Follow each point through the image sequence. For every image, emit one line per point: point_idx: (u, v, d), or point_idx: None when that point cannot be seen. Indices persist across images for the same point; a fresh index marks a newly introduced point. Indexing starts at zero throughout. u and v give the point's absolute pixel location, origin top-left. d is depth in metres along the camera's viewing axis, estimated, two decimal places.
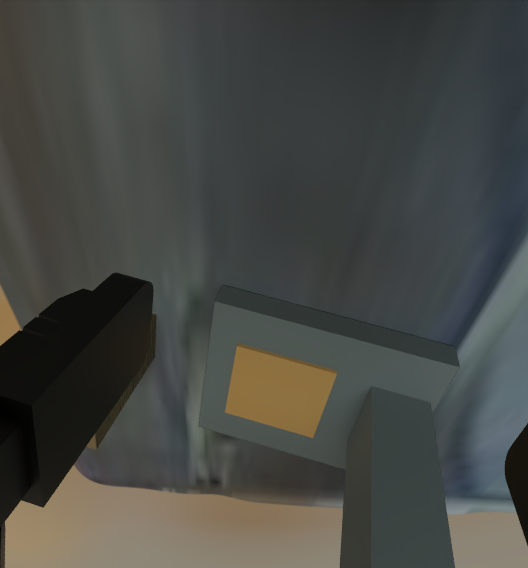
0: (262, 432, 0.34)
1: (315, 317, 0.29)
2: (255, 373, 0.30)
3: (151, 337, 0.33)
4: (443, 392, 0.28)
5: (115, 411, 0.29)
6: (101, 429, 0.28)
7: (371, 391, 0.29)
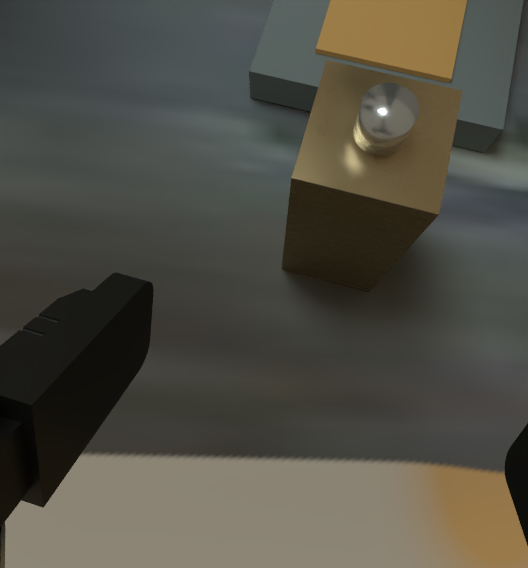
0: (486, 39, 0.23)
1: None
2: (362, 32, 0.22)
3: None
4: None
5: None
6: None
7: None
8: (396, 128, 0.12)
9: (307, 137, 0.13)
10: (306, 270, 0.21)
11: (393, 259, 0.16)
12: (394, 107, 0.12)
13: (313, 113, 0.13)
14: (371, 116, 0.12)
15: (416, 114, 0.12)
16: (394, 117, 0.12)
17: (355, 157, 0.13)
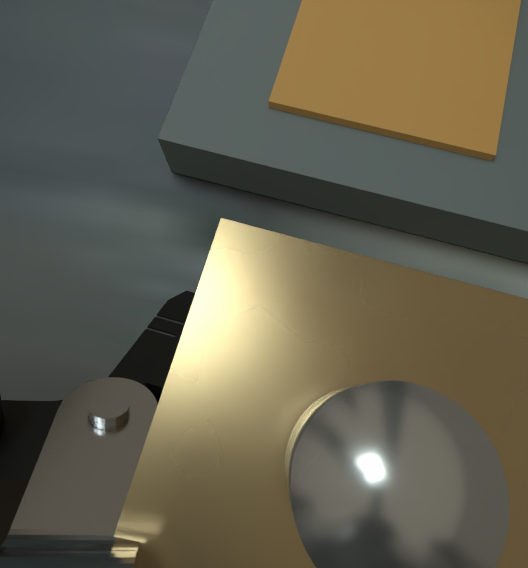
0: None
1: None
2: (345, 73, 0.14)
3: None
4: None
5: None
6: None
7: None
8: None
9: (145, 479, 0.04)
10: None
11: None
12: (415, 495, 0.03)
13: (170, 394, 0.05)
14: (328, 540, 0.03)
15: (500, 527, 0.03)
16: (416, 546, 0.03)
17: (288, 563, 0.04)
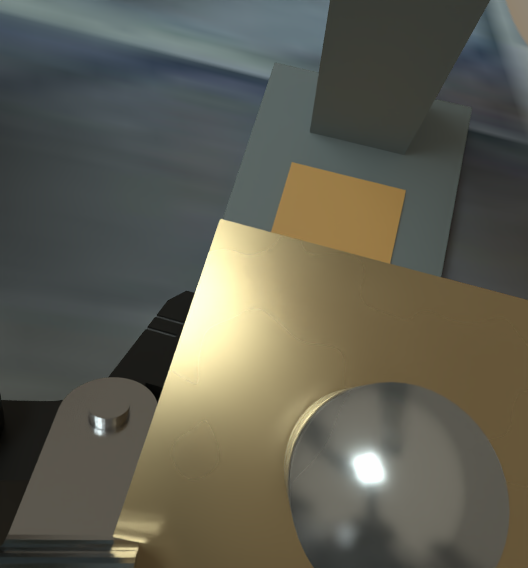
0: (416, 255, 0.25)
1: None
2: None
3: None
4: (309, 71, 0.28)
5: None
6: None
7: (311, 128, 0.27)
8: None
9: (144, 481, 0.04)
10: None
11: None
12: (414, 497, 0.03)
13: (169, 395, 0.05)
14: (326, 543, 0.03)
15: (499, 529, 0.03)
16: (415, 548, 0.03)
17: (287, 564, 0.04)
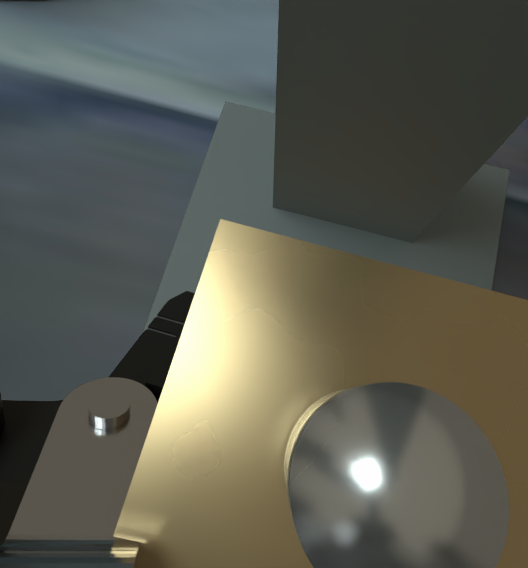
0: None
1: None
2: None
3: None
4: (274, 115, 0.20)
5: None
6: None
7: (275, 203, 0.18)
8: None
9: (144, 481, 0.04)
10: None
11: None
12: (414, 497, 0.03)
13: (169, 395, 0.05)
14: (328, 543, 0.03)
15: (499, 529, 0.03)
16: (414, 548, 0.03)
17: (287, 564, 0.04)
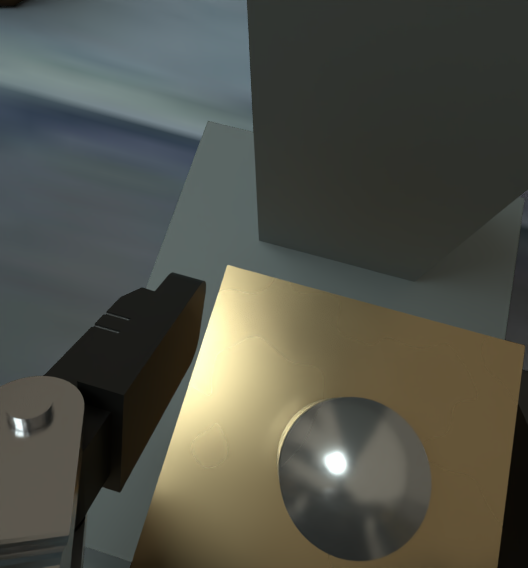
0: None
1: None
2: None
3: None
4: None
5: None
6: None
7: (261, 236, 0.16)
8: (368, 549, 0.04)
9: (170, 469, 0.06)
10: None
11: None
12: (365, 477, 0.05)
13: (189, 404, 0.06)
14: (304, 509, 0.04)
15: (424, 499, 0.04)
16: (365, 512, 0.04)
17: (278, 531, 0.05)
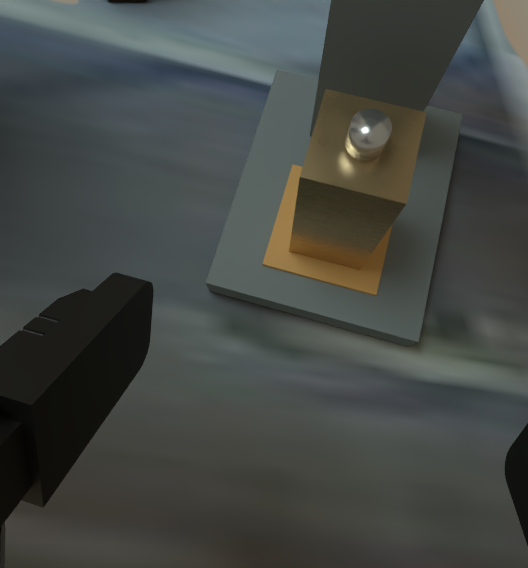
0: (409, 253, 0.26)
1: None
2: None
3: None
4: (309, 78, 0.30)
5: None
6: None
7: (311, 132, 0.28)
8: (374, 142, 0.17)
9: (311, 147, 0.18)
10: (309, 252, 0.25)
11: (377, 241, 0.21)
12: (374, 126, 0.17)
13: (315, 129, 0.18)
14: (357, 133, 0.17)
15: (389, 131, 0.17)
16: (374, 133, 0.17)
17: (346, 162, 0.18)
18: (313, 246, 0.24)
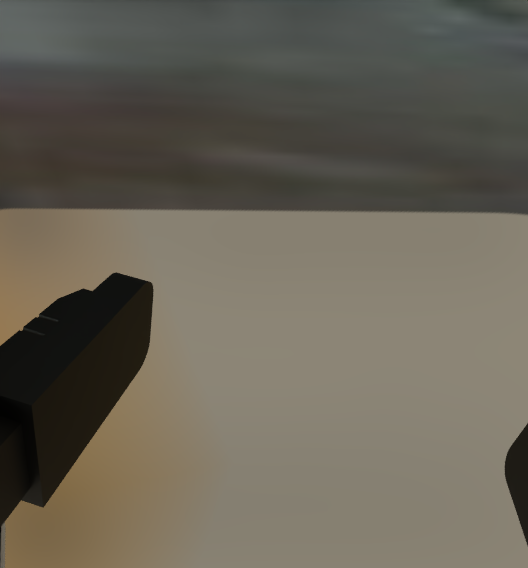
0: None
1: None
2: None
3: None
4: None
5: None
6: None
7: None
8: None
9: None
10: None
11: None
12: None
13: None
14: None
15: None
16: None
17: None
18: None
